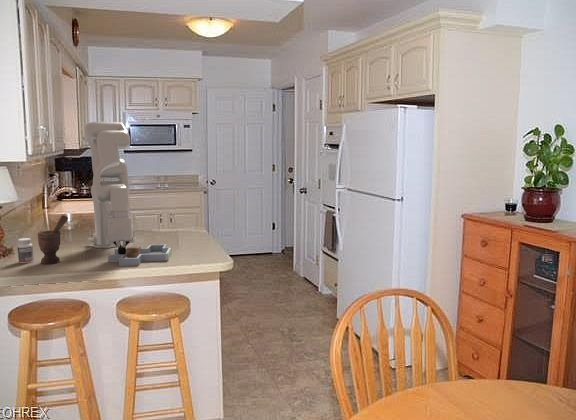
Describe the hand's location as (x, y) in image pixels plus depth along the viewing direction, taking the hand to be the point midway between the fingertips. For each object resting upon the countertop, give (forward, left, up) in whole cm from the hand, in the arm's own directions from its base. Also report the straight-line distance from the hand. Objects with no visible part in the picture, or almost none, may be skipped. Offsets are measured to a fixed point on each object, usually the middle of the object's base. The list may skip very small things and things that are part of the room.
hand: (122, 255), depth 221 cm
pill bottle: (-40, -2, -1) cm, 40 cm away
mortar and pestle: (-28, -3, -1) cm, 28 cm away
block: (+5, 0, -1) cm, 5 cm away
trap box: (+7, 0, -1) cm, 8 cm away
